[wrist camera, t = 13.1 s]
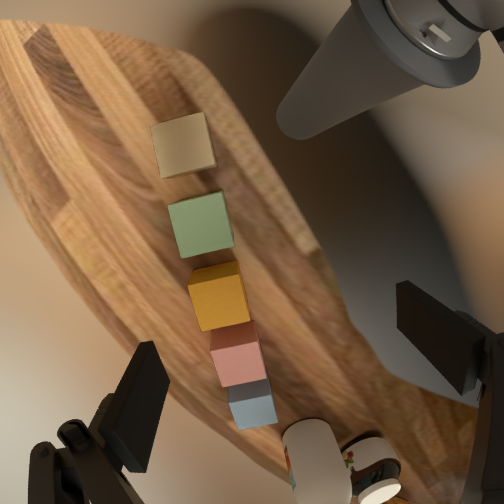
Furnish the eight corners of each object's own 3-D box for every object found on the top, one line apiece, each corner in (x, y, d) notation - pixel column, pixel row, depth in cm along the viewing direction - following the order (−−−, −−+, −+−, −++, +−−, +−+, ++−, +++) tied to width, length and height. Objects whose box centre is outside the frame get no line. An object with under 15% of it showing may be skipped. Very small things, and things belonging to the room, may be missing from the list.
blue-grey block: (266, 370, 36) (271, 394, 32) (273, 397, 38) (278, 422, 33) (228, 378, 36) (228, 403, 31) (237, 405, 38) (238, 430, 33)
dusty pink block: (253, 319, 35) (257, 341, 30) (262, 354, 36) (267, 378, 31) (212, 328, 35) (209, 351, 30) (222, 363, 36) (222, 387, 31)
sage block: (223, 190, 31) (221, 191, 26) (233, 236, 32) (234, 246, 27) (176, 201, 31) (167, 205, 26) (188, 247, 32) (181, 258, 27)
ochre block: (237, 259, 33) (238, 273, 28) (247, 301, 34) (250, 321, 29) (192, 270, 33) (186, 285, 28) (204, 311, 34) (201, 331, 29)
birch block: (207, 121, 29) (203, 111, 24) (217, 167, 30) (215, 164, 26) (161, 134, 29) (149, 126, 24) (171, 178, 30) (160, 178, 26)
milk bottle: (285, 418, 39) (313, 535, 19) (335, 415, 39) (380, 520, 20) (278, 450, 40) (298, 554, 21) (324, 446, 41) (357, 543, 22)
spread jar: (370, 425, 41) (396, 474, 29) (399, 441, 43) (424, 483, 32) (316, 464, 42) (331, 514, 31) (351, 477, 45) (368, 520, 33)
